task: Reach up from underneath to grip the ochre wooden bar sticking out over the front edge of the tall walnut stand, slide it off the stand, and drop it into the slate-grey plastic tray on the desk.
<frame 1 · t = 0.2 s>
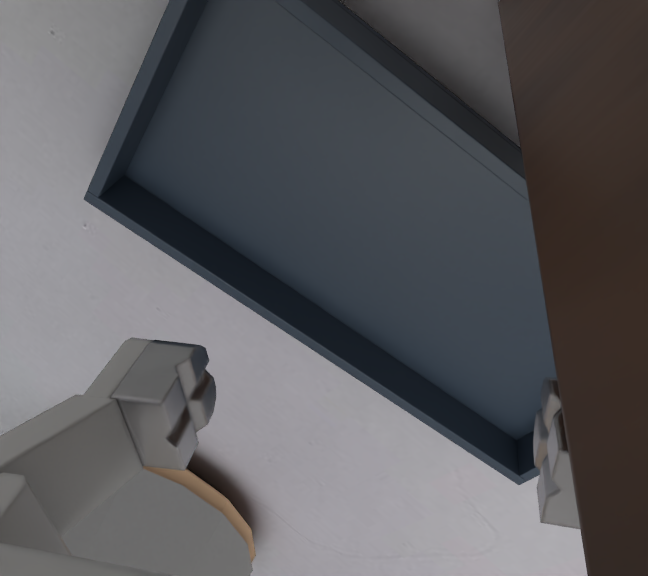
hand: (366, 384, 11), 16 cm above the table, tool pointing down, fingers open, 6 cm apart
tray: (408, 241, 27), on the table
desk lamp: (155, 496, 47), on the table
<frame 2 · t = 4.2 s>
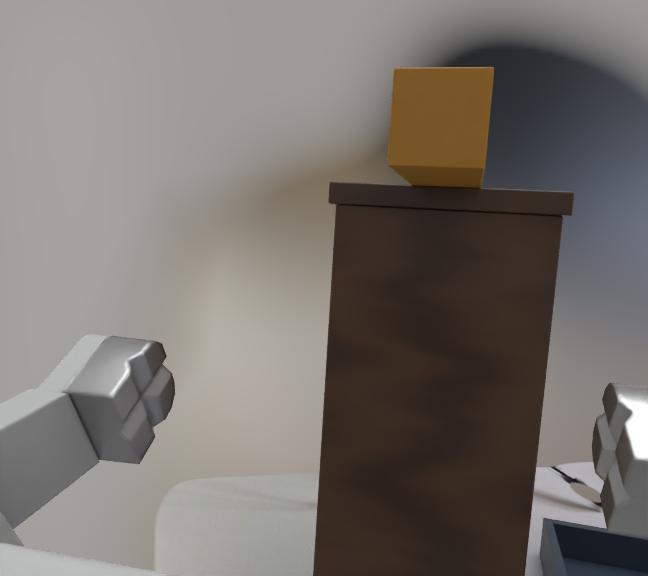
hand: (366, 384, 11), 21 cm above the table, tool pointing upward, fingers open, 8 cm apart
bar: (448, 191, 28), point 26 cm above the table, touching stand
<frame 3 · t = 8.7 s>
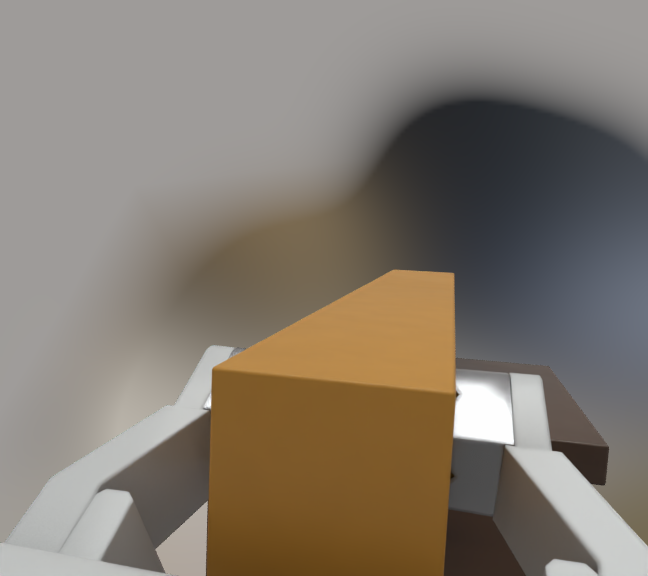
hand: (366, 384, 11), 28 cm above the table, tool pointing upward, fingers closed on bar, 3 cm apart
bar: (399, 387, 18), point 26 cm above the table, touching gripper, stand
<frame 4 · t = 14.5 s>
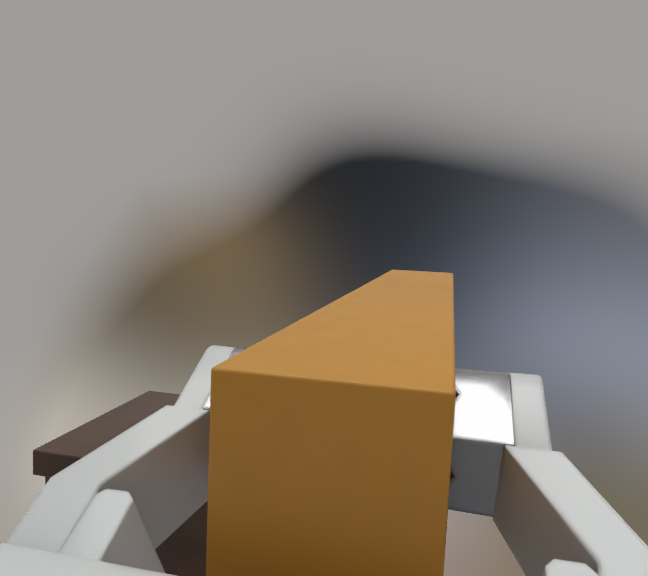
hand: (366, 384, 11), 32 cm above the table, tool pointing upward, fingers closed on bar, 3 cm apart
bar: (398, 387, 18), point 30 cm above the table, touching gripper
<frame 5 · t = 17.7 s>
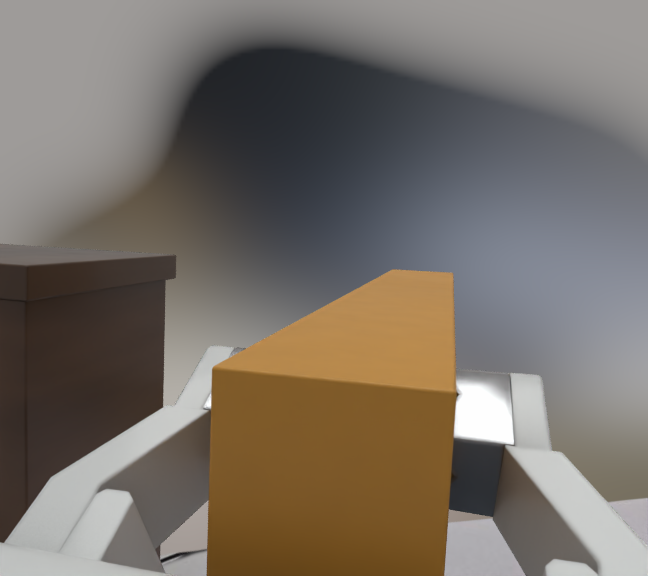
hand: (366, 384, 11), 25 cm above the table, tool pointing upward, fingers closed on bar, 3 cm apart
bar: (398, 387, 18), point 23 cm above the table, touching gripper
when the fingers open (16 cm above the table, at t = 20.6 s): bar drops 14 cm, resting on tray.
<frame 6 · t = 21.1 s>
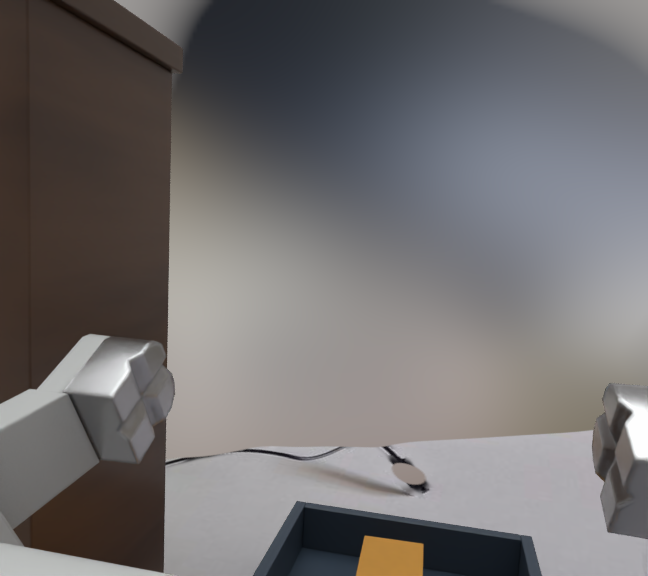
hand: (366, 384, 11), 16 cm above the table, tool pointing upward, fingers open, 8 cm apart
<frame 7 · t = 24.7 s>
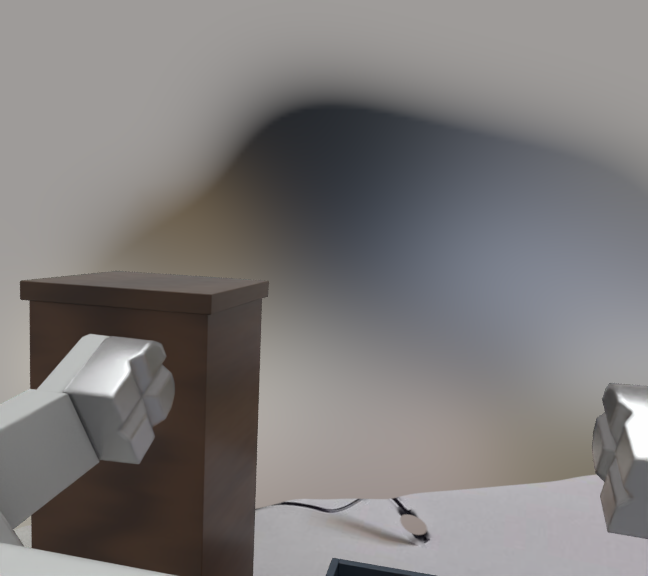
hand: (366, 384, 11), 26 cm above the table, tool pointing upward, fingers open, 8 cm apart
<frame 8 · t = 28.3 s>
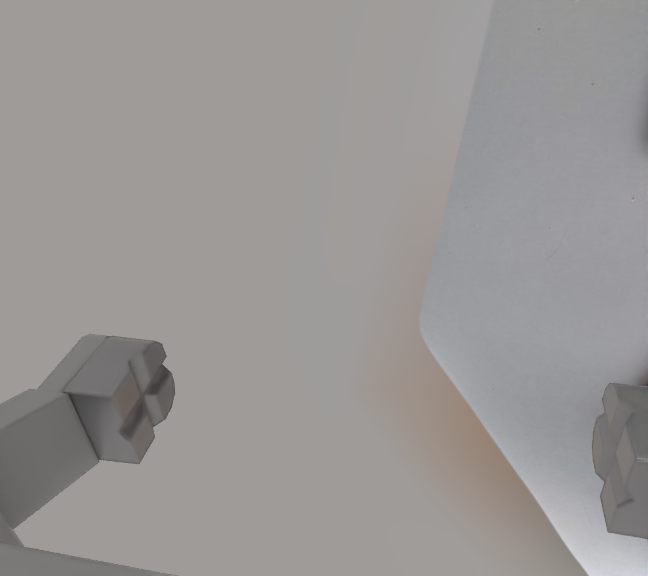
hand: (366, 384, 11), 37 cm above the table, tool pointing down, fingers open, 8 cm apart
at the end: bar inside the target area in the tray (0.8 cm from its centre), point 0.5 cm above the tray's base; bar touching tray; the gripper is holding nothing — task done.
